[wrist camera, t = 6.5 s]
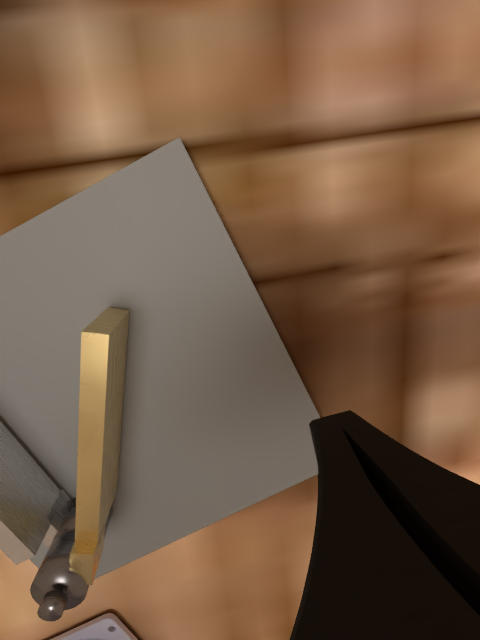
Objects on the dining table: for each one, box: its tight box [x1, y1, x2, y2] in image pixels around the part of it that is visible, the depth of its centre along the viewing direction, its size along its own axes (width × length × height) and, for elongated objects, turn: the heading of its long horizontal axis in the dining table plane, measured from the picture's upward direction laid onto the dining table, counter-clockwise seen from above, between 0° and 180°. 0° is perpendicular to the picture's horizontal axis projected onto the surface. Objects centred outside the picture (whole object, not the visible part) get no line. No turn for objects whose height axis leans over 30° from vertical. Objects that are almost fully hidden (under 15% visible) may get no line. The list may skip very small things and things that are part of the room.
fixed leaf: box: [0, 421, 113, 621], centre depth 16 cm, size 13×3×5 cm, turn 27°
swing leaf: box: [30, 307, 129, 610], centre depth 16 cm, size 3×13×4 cm, turn 171°
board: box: [0, 137, 320, 579], centre depth 19 cm, size 19×19×1 cm
